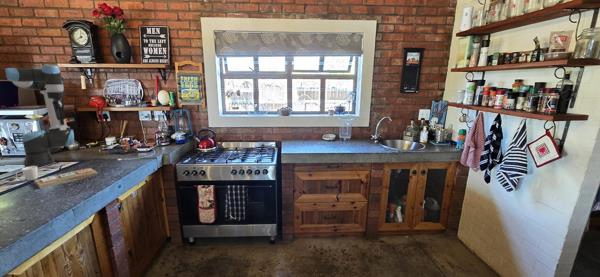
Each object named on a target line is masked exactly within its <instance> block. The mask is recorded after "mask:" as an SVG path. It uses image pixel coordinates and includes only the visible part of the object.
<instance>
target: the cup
mask: <svg viewBox="0 0 600 277" xmlns="http://www.w3.org/2000/svg"><path fill="white" fill-rule="evenodd" d="M38 167H39V166H38ZM38 167H37V166H30V167H25V166H24V167H22V168H21V169H20V170H17V171H16V172H15V177H16V179H17V180H20V181H22V182H26V181H34V180H36V179H38V172H39V171H38V169H39V168H38ZM19 172H22V173H23V175H24V178H25V179H23V178H20V177H19V176H18V173H19Z"/></svg>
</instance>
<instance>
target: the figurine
mask: <svg viewBox="0 0 600 277" xmlns="http://www.w3.org/2000/svg"><path fill="white" fill-rule="evenodd" d="M120 145H121V146H122V149H121V150H118V154H121V155H122V156H123V155H129V154H135V153H137V150H136V149H134V148H131V145H130V142H129V140H128V139H126V138H123V139H122V140H121V142H120Z"/></svg>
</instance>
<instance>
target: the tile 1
mask: <svg viewBox="0 0 600 277" xmlns="http://www.w3.org/2000/svg"><path fill="white" fill-rule="evenodd" d="M51 176H52V177H50V176H46V177H47V178H45V177H42V178H43V179H41V178H39V179H40V181H41V182H42V183H44V182H49V181H53V180H57V178H56V177H55V176H54V175H51Z"/></svg>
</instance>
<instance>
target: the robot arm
mask: <svg viewBox="0 0 600 277" xmlns="http://www.w3.org/2000/svg"><path fill="white" fill-rule="evenodd" d="M5 75H6V80H8V81H9V82H12V83H13V85H14V86H16V87H19V88H21V89H24V90H30V91H31V90H32V91H33V90H34V91H39V93H40V94H42V95H43V96H44V97H43V98H44V102H45V106H46V111H47V115H48V119H49V124H50V127H49V128H48V131H47V132H46V131H45V130H34V131H29V132H27V133H24V134H22V135H21V143H22V145H23V149H24V153H25V158H24V162H23V164H24V168H25V167H30V166H37V167H43V166H47V165H51V164H54V163H55V158H54V157H53V155H52V154H51V153H50V150H49V149H54V148H60V147H68V146H72V145H74V143H75V134H74V129H71V127H70V126H68V125H67V121H66V117H65V116H66V115H65V107H64V106H65V105H64V102H63V101H62V99H65V98H66V95H65V92H64V91H65V87H64V82H63V80H62V76H61V69H60V67H59V66H58V65H51V64H50V65H48V64H44V65H43V64H42V66H41V68H19V67H8V68H5Z"/></svg>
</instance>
